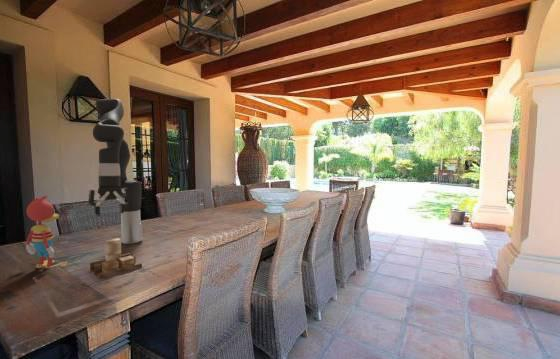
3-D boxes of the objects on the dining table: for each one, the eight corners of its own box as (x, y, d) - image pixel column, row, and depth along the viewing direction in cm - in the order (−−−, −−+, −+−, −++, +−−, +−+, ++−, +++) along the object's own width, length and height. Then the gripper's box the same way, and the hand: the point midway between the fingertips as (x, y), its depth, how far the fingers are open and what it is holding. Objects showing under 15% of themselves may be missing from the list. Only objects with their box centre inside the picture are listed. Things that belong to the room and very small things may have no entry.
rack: (130, 261, 123) (130, 252, 123) (143, 269, 115) (143, 259, 115) (88, 272, 111) (88, 262, 111) (99, 281, 103) (99, 271, 102)
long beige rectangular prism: (118, 263, 118) (118, 238, 117) (121, 265, 116) (120, 239, 115) (105, 266, 114) (104, 240, 113) (108, 268, 112) (107, 242, 111)
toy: (71, 265, 117) (68, 195, 115) (44, 275, 108) (41, 198, 105) (48, 261, 122) (44, 193, 120) (20, 269, 112) (16, 196, 110)
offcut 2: (130, 264, 117) (130, 255, 116) (134, 267, 114) (134, 257, 114) (118, 267, 113) (118, 258, 113) (122, 270, 111) (122, 260, 110)
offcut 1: (114, 269, 112) (114, 259, 112) (118, 271, 109) (118, 261, 109) (102, 272, 109) (101, 262, 108) (105, 275, 106) (105, 265, 106)
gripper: (125, 173, 120) (125, 211, 121) (86, 174, 110) (87, 215, 111) (131, 174, 115) (132, 213, 116) (91, 175, 105) (92, 217, 106)
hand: (110, 214), depth 113 cm, fingers open, 8 cm apart
